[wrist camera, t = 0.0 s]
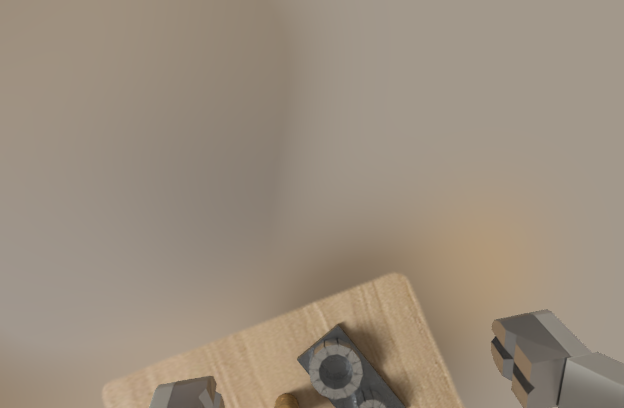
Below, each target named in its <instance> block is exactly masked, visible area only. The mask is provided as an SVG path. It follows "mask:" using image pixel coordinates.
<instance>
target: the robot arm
mask: <svg viewBox="0 0 624 408" xmlns="http://www.w3.org/2000/svg"><path fill="white" fill-rule="evenodd" d="M492 331H493V332H494V334H495V335H496V336H495V338H494V339H493V340H492V341H491V351H492V355H493V359H494V361H495V364H496V366H497V368H498V370H499V371H500V373H501V374H502V376H504V377H506V378H507V379H509V380H511V381H512V389H511V390H512V391H513V393H514V394H515V396H516V397H517V399H518V400H519V402H520V403H521V405H522V406H523V408H551V407H558V408H624V364H623V363H621V362H619V361H617V360H614V359H612V358H610V357H608V356H606V355H603V354H601V353H599V352H596V353H592V352H591V351H590V350H589V349H588V348H587V347H586V346H585V345H584V344H583V343H582V342H581V341H580V340H579V339H578V338H577V337H576V336H575V335H574V334H573V333H572V332H571V331H570V330H569V329H568V328H567V327H566V326H565V325H564V324H563V323H562V322H561V321H560V320H559V319H558V318H557V317H556V316H555V315H554V314H553V313H552V312H551V311H549V310H547V309H546V310H541V311H536V312H531V313H525V314H521V315H515V316H511V317H506V318H501V319H496V320H494V322H493V323H492ZM216 385H217V384H216V381H215V379H214V377H213V376H207V377H201V378H195V379H189V380H183V381H177V382H172V383H167V384H161V385H159V386H158V387H157V388H156V390H155V392H154V394H153V397H152V400H151V403H150V406H149V408H225V406H224V401H223V398H222V396H221V394H219V393H218V392H216Z"/></svg>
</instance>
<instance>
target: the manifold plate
mask: <svg viewBox="0 0 624 408" xmlns="http://www.w3.org/2000/svg"><path fill="white" fill-rule="evenodd" d="M297 360H298V362H299V363H300V364H301V365H302V366H303V368H304V369H305V370H306V371H307V373H308V374H309V375H310V380H311V383H312V385H313V386H314V388H315V389H316V390H317V391H318V393H319V394H320V393H321V395H322V396H325V397H328V399H329V400H330V401H331V402H332V404H333V405H334V406H335V407H336V408H406V407H405V406H404V404H403V403H402V402H401V401H400V399H399V398H398V397H397V396H396V395H395V393H394V392H393V391H392V390H391V388H390V387H389V386H388V385H387V384H386V382H385V381H384V380H383V379H382V377H381V376H380V375H379V374H378V373H377V371H376V370H375V369H374V368H373V366H372V365H371V364H370V363H369V362H368V360H367V359H366V358H365V357H364V355H363V354H362V353H361V352H360V351H359V349H358V348H357V347H356V346H355V344H354V343H353V342H352V341H351V340H350V338H349V337H348V336H347V335H346V333H345V332H344V331H343V330H342V329H341V327H340V326H339V325H338V324H337V325H336V326H335V327H334V328H332V329H331V330H330V331H329V332H328V333H326V334H325V335H324V336H323V337H322V338H320V339H319V340H318V341H317V342H316V343H315V344H313V345H312V346H311V347H310V348H309V349H307V350H306V351H305V352H304V353H303V354H301V355H300V356H299V357H298V358H297Z"/></svg>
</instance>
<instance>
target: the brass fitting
mask: <svg viewBox="0 0 624 408" xmlns="http://www.w3.org/2000/svg"><path fill="white" fill-rule="evenodd" d="M274 408H298V401H297V399H296V398H295V397H294V396H293V395H291V394H282V395H280V396H279V397H278V398H277V400H276V402H275V407H274Z"/></svg>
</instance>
